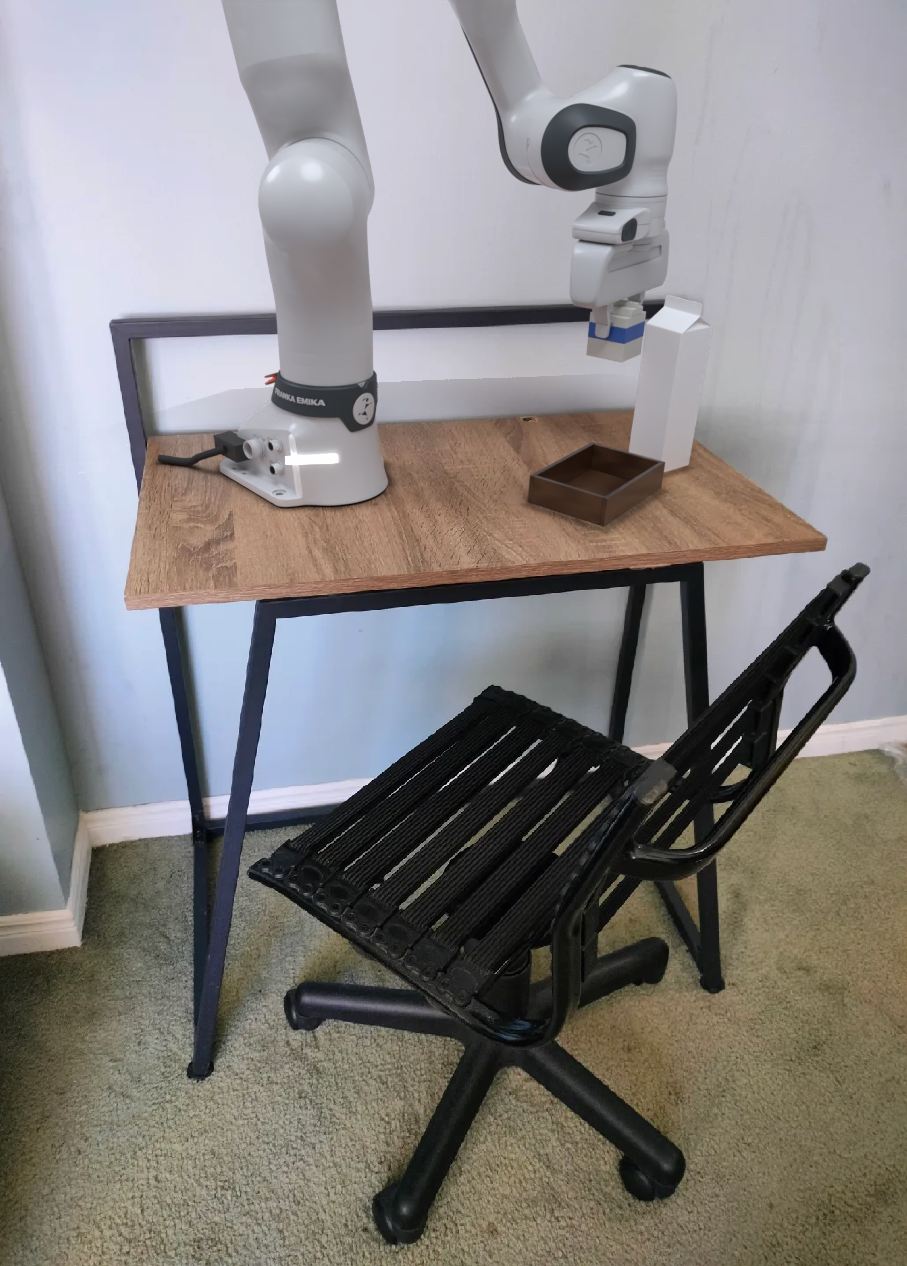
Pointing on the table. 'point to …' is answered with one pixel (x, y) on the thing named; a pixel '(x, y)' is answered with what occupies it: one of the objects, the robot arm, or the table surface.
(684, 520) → the table surface
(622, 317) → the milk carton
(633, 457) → the box
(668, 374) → the milk
